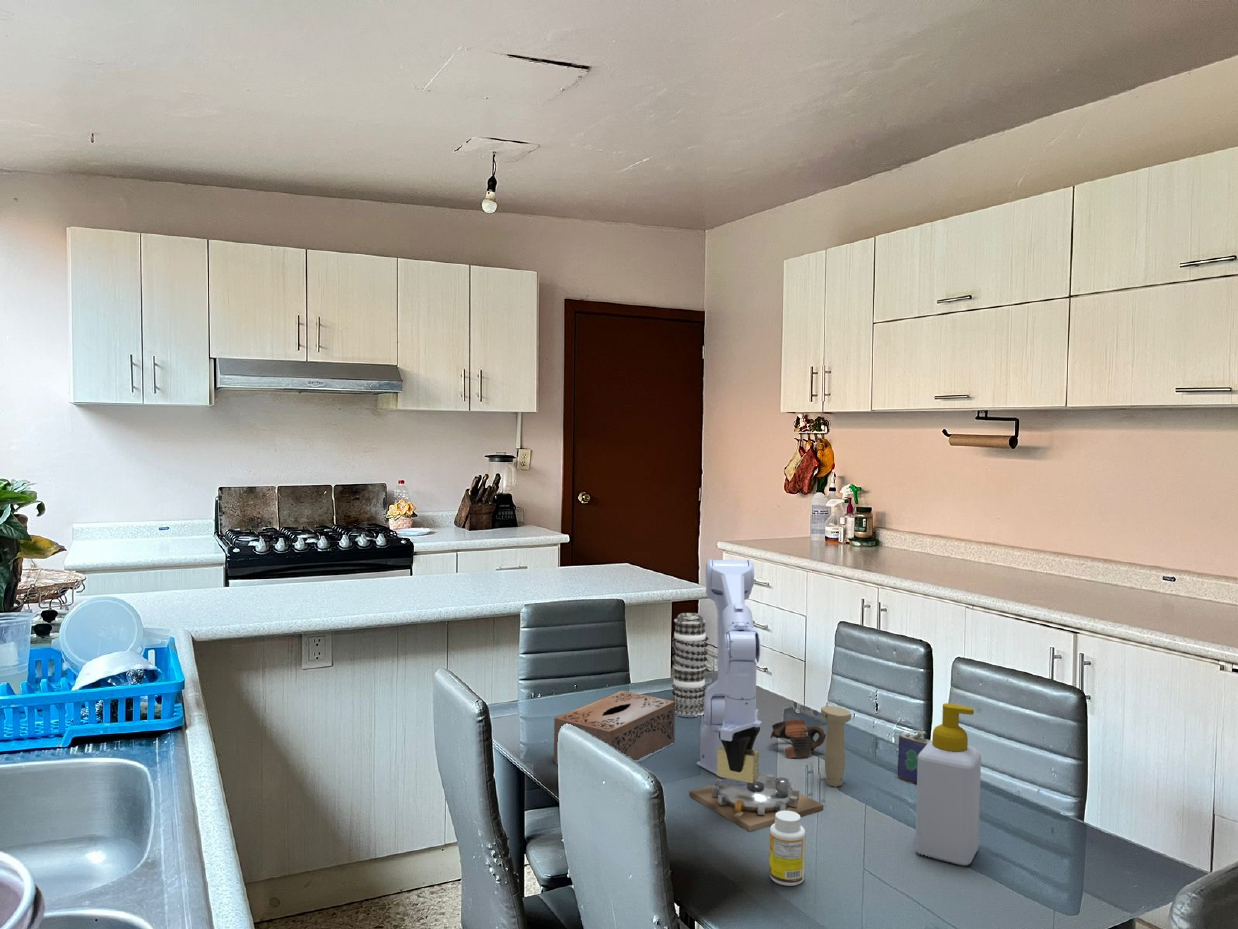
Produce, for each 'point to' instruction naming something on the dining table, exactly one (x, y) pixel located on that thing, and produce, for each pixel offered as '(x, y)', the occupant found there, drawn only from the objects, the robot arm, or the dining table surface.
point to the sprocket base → (752, 818)
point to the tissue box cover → (625, 723)
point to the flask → (910, 755)
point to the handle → (835, 743)
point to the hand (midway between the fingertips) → (739, 767)
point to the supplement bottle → (787, 849)
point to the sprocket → (756, 794)
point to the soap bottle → (948, 792)
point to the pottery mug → (798, 737)
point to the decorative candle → (689, 664)
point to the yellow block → (748, 769)
